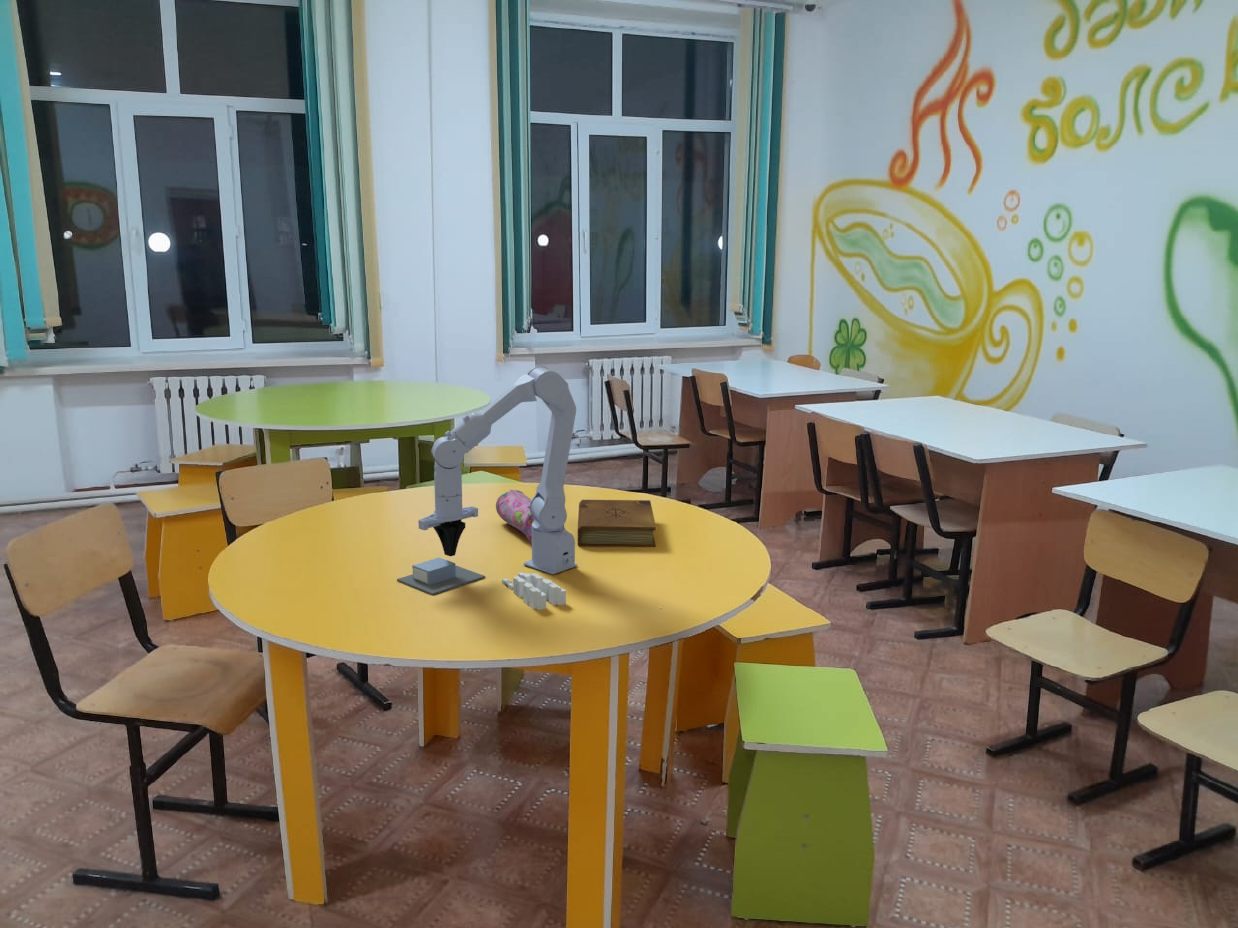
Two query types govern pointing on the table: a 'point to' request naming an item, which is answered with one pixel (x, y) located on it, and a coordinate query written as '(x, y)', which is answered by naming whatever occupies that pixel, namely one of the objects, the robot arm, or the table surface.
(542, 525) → the robot arm
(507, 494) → the pencil case
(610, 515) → the diary
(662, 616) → the table surface
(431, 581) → the block
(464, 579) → the mat
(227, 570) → the table surface
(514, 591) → the modular blocks
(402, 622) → the table surface
